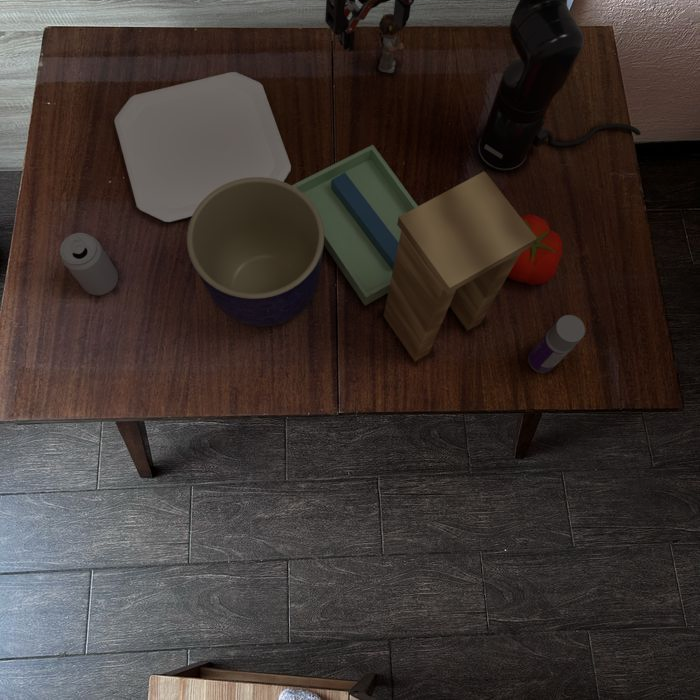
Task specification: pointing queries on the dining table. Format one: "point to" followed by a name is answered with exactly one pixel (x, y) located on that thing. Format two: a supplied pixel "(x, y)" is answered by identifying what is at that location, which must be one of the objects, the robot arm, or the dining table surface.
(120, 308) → the dining table surface
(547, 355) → the container
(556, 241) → the tomato
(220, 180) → the plate
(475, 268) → the shelf
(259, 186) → the planter
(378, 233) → the bar
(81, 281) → the beverage can
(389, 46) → the toy
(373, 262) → the tray
